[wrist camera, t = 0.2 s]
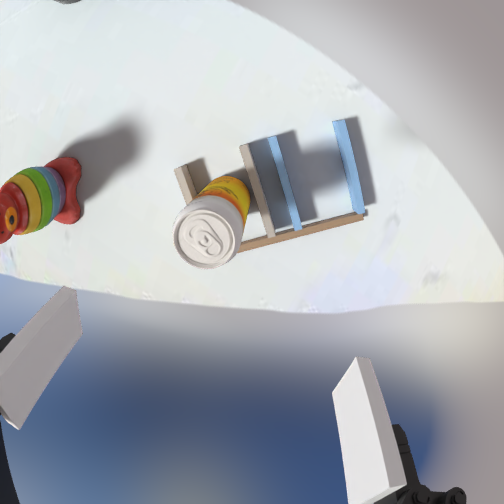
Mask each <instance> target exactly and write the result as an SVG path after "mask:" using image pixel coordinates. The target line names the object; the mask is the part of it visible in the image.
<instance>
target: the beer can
mask: <svg viewBox="0 0 504 504" xmlns="http://www.w3.org/2000/svg"><path fill="white" fill-rule="evenodd" d="M249 206H250V193H249V190H248V188H247V187H246V185H245V184H244V183H243V182H242V181H240V180H239V179H237V178H235V177H231V176H222V177H218V178H216V179H214V180H213V181H211V182H210V183H209V184H208V185H207V186H206V187H205V188H204V189H203V190H202V191H201V192H200V193H199V194H198V195H197V196H196V197H195V198H194V199H193V200H192V201H191V202H190V203H189V204H188V205H187V206H186V207H185V208H184V209H183V210H182V211H181V212H180V213H179V214H178V216H177V217H176V219H175V222H174V225H173V241H174V246H175V248H176V251H177V252H178V254H179V255H180V257H181V258H182V259H183V260H184V261H185V262H187V263H188V264H190V265H192V266H194V267H197V268H201V269H213V268H217V267H219V266H221V265H223V264H225V263H227V262H229V261H230V260H231V259H232V258H233V257H234V256H235V255H236V253H237V252H238V250H239V248H240V245H241V240H242V236H243V232H244V227H245V223H246V219H247V214H248V210H249Z"/></svg>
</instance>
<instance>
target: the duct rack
mask: <svg viewBox="0 0 504 504" xmlns="http://www.w3.org/2000/svg"><path fill="white" fill-rule="evenodd" d="M332 123H333V126H334V130H335V134H336V137H337V141H338V145H339V149H340V153H341V157H342V161H343V165H344V169H345V174H346V178H347V183H348V187H349V192H350V197H351V202H352V207H353V210H354V211H355V212H354V213H350V214H346V215H342V216H338V217H335V218H331V219H327V220H323V221H319V222H315V223H312V224H308V225H304V226H301V222H300V218H299V214H298V211H297V207H296V203H295V200H294V196H293V192H292V189H291V185H290V182H289V178H288V175H287V171H286V168H285V164H284V161H283V158H282V154H281V151H280V148H279V144H278V141H277V138H276V136H272V137H269V138H268V141H269V144H270V148H271V151H272V154H273V157H274V161H275V164H276V167H277V170H278V174H279V177H280V181H281V184H282V187H283V191H284V194H285V198H286V201H287V205H288V208H289V212H290V216H291V219H292V223H293V226H294V228H293V229H289V230H285V231H281V232H278V233H275V227H274V224H273V220H272V217H271V214H270V211H269V207H268V204H267V201H266V197H265V194H264V191H263V188H262V185H261V181H260V178H259V175H258V172H257V169H256V166H255V162H254V159H253V156H252V153H251V150H250V147H249V144H245V145H242V146H240V147H239V149H240V152H241V155H242V158H243V161H244V164H245V167H246V170H247V173H248V176H249V180H250V183H251V186H252V189H253V192H254V195H255V198H256V201H257V205H258V208H259V211H260V214H261V217H262V220H263V224H264V227H265V230H266V233H267V236H263V237H259V238H255V239H252V240H248V241H244V242H241V245H240V248H239V250H238V252H237V253H240V252H244V251H247V250H251V249H255V248H259V247H263V246H266V245H270V244H274V243H278V242H281V241H285V240H289V239H293V238H297V237H300V236H304V235H308V234H312V233H316V232H319V231H323V230H327V229H331V228H335V227H338V226H342V225H346V224H350V223H354V222H358V221H361V220H364V219H363V213H365V208H364V202H363V197H362V192H361V186H360V182H359V177H358V172H357V167H356V163H355V159H354V154H353V150H352V146H351V142H350V138H349V134H348V131H347V127H346V123H345V120H339V121H334V122H332ZM174 172H175V175H176V178H177V180H178V183H179V186H180V188H181V191H182V194H183V197H184V199H185V202H186V205H188V204H189V203H190V202H191V201H192V200H193V199H194V198H195V197H196V196H197V193H196V190H195V187H194V185H193V182H192V179H191V176H190V173H189V171H188V168H187V165H183V166H181V167H178V168H176V169H174Z"/></svg>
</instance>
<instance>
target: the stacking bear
mask: <svg viewBox="0 0 504 504" xmlns="http://www.w3.org/2000/svg"><path fill="white" fill-rule="evenodd" d="M80 177H81V166H80V164H79V163H78V161H77V160H76V159H74V158H70V157H63V158H58V159H55V160H53V161H51V162H49V163H48V164H46V165H45V166H44V167H31V168H27V169H24V170H22V171H20V172H19V173H17V174H16V175H14V176H13V177H12V178H10V179H9V180H8V181H7V182H5V184H4V185H3V186H2V187H1V189H0V244H2V243H4V242H6V241H7V240H9V239H10V238H11V236H12V235H13V234H15V235H23V234H28V233H31V232H35V231H38V230H40V229H42V228H44V227H45V226H47V225H48V224H49V223H50V222H51V221H52V220H53V219H54V220H56V221H58V222H60V223H64V224H74V223H76V221H77V220H78V219H79V218H80V207H79V204H78V202H77V199H76V186H77V183H78V181H79V179H80Z"/></svg>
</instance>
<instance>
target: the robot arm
mask: <svg viewBox="0 0 504 504" xmlns="http://www.w3.org/2000/svg"><path fill="white" fill-rule="evenodd" d="M54 1H57V2H59V3H62V4H71V3H75V2H78V1H80V0H54ZM82 334H83V333H82V326H81V321H80V315H79V309H78V301H77V294H76V290H74V289H71V288H69V287H66V286H63V287H62V288H61V289H60V290H59V291H58V292H57V293H56V294H55V295H54V296H53V297H52V298H51V299H50V300H49V301H48V302H47V303H46V304H45V305H44V306H43V307H42V308H41V309H40V310H39V311H38V312H37V313H36V314H35V315H34V316H33V317H32V319H30V320H29V322H28V323H27V324H26V325H25V326H24V327H23V328H22V329H21V330H20V332H19V333H18V334H17V335H15V334H13V333H10V334H8V335H6V336H4V337H3V338H2V339H1V340H0V415H2V416H3V417H4V419H5V420H6V421H7V422H8V423H10V424H11V425H12V426H14V427H15V428H17V429H18V430H20V428H21V427H22V425H23V423H24V421H25V420H26V418H27V416H28V415H29V413H30V411H31V409H32V408H33V406H34V405H35V403H36V402H37V400H38V398H39V397H40V395H41V394H42V392H43V390H44V389H45V387H46V386H47V384H48V383H49V381H50V380H51V378H52V377H53V375H54V374H55V372H56V371H57V369H58V368H59V366H60V365H61V363H62V362H63V361H64V359H65V358H66V356H67V355H68V353H69V352H70V351H71V349H72V348H73V346H74V345H75V344H76V342H77V341H78V340H79V338H80V337H81V335H82ZM332 395H333V400H334V406H335V412H336V418H337V424H338V430H339V436H340V442H341V449H342V456H343V463H344V470H345V478H346V486H347V494H348V503H349V504H373V503H374V504H466V494H465V492H464V491H463V490H462V489H461V488H459V487H454V488H452V489H450V490H449V491H447V492H433V491H430V490H429V489H428V488H427V487H426V486H425V485H421V484H420V482H419V480H418V476H417V472H416V469H415V465H414V461H413V458H412V454H411V453H410V448H409V445H408V440H407V437H406V434H405V432H404V431H403V430H402V428H401V427H400V425H399V424H395V425H391V422H390V418H389V415H388V412H387V409H386V405H385V402H384V399H383V396H382V393H381V390H380V387H379V384H378V381H377V378H376V375H375V372H374V369H373V366H372V363H371V360H370V358H362V357H355V359H354V361H353V362H352V364H351V365H350V367H349V368H348V370H347V372H346V373H345V375H344V376H343V378H342V379H341V381H340V382H339V384H338V385H337V386H336V388H335V389H334V391H333V392H332ZM0 504H20V503H19V500H18V497H17V493H16V490H15V487H14V484H13V480H12V477H11V473H10V469H9V465H8V460H7V456H6V451H5V446H4V440H3V435H2V429H1V422H0Z"/></svg>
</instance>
